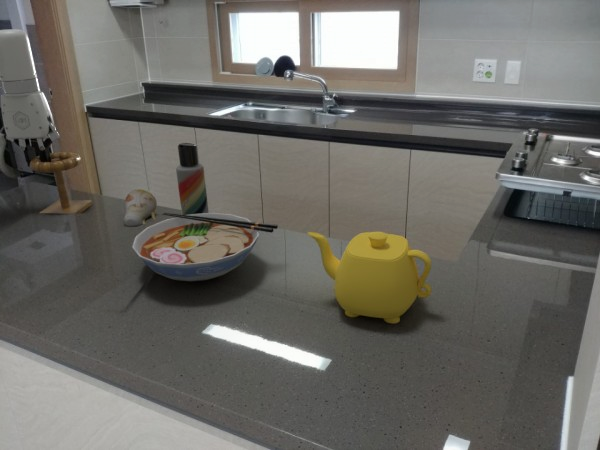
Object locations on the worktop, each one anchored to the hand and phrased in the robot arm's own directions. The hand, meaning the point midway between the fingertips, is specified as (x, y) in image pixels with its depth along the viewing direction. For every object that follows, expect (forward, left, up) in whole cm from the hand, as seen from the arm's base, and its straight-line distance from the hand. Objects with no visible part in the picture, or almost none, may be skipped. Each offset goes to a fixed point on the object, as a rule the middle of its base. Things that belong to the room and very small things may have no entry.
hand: (39, 164), depth 129 cm
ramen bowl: (+47, -30, -12) cm, 57 cm away
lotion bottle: (+41, -12, -12) cm, 45 cm away
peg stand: (+4, 0, -12) cm, 13 cm away
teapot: (+78, -40, -12) cm, 89 cm away
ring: (+4, 0, +1) cm, 4 cm away
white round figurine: (+26, -7, -12) cm, 30 cm away
